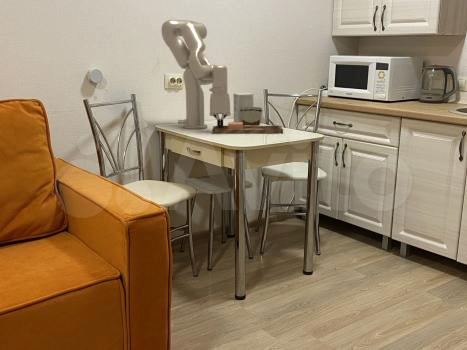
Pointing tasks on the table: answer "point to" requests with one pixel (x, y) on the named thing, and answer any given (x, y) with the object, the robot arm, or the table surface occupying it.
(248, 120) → the food container
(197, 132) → the table surface
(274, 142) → the table surface
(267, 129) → the track
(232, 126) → the block
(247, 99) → the supplement box
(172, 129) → the table surface
